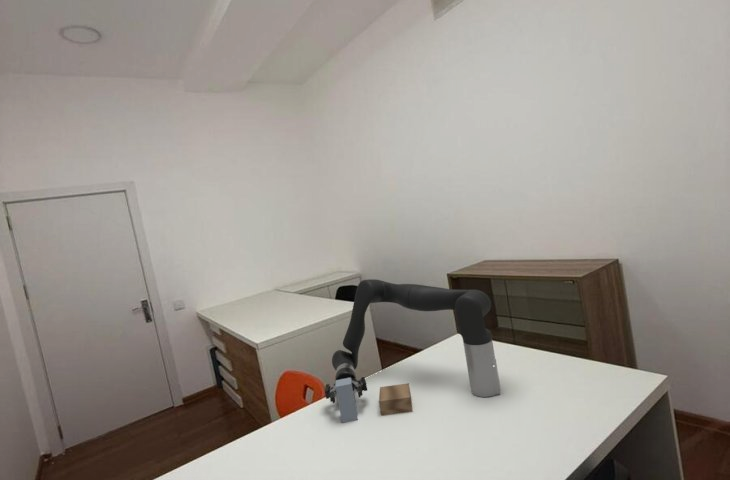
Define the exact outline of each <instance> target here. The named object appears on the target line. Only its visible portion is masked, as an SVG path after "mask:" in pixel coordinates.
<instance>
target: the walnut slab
mask: <svg viewBox="0 0 730 480" xmlns="http://www.w3.org/2000/svg"><path fill="white" fill-rule="evenodd" d="M378 394H379V396H378V404H379V409H380V410H379V411H380V414H381V415H380V416H382V417H383V416H390V415H396V414H404V413H412V412H413V413H414V411H413V403H412V401H413V399H412V393H411V389H410V383H408V382H407V383H400V384H393V385H392V384H391V385H386V386H380V387H379V393H378Z"/></svg>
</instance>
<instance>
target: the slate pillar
mask: <svg viewBox="0 0 730 480" xmlns="http://www.w3.org/2000/svg"><path fill="white" fill-rule="evenodd" d="M335 387H336V392H337V396H336V397H337V402H338V408H339V413H340V418H341V423H342V424H345V423H349V422H354V421H358V410H357V405H356V399H355V394H354V393H355V392H353V388H352V382H351V377H350V378H345V379H340V380H336V386H335Z"/></svg>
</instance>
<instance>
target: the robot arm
mask: <svg viewBox="0 0 730 480" xmlns="http://www.w3.org/2000/svg"><path fill="white" fill-rule="evenodd" d="M376 303H392V304H397V305H399V306H401V307H403V308H405V309H409V310H413V311H418V312H438V311H446V310H448V311H449V310H450V311H454V313H455V319H456V323H457V328H458V331H459V334H460V336H461V338H462V342H463V347H464V348H463V349H464V353H465V355H464V356H465V361H466V367H467V374H468V380H469V386H470V392H471V394H473V395H474V396H476V397H479V398H490V397H493V396H496V395H497V396H498V395H501V384H500V378H499V377H500V376H499V371H498V370H499V369H498V365H497V359H496V356H495V349H494V348H495V347H494V342H493V336H492V332H491V330H490V329H488V328H486V323H485V321H484V317H485V316H486V315H487V314H488V313H489V312H490V310H491V307H492V300H491V298H490V297H489V295H487V293H485V292H484V291H482V290H479V289H452V288H451V289H450V288H445V287H437V286H431V285H424V284H417V283H415V284H414V283H399V284H398V283H392V282H388V281H384V280H381V279H372V278H371V279H369V278H368V279H363V280H361V281H360V282H358V285H357V287H356V291H355V294H354V301H353V306H352V310H351V316H350V319H349V320H350V321H349V324H348V327H347V330H346V332H345V335H344V338H343V340H342V345H343V347H344V348H345V349H347V351H345V350H341V349H339V350H336V351H334V352H333V354H332V358H331V364H332V368H333V369H334V370H335V374H334V375H335V376H334V377H335V379H334V381H335V383H333V385H330V383H327V384H325V388H324V396H325V399H329V400H330V402H331V403H333V404H334V403H336V397H337V392H336V387H335V386H336V380H340V379H345V378H350V377H351V382H352V388H353V393H357V396H358V398H361V397H362V396H363V392H366V391H368V387H367V381H366V378H365V376H362V377H360V379H357V375H356V370H357V367H358V363H359V362H358V361H359V351H360V347H361V344H362V341H363V339H364V335H365V331H366V323H365V317H366V312H367V309H369V306H370V304H376ZM348 351H349V352H348Z"/></svg>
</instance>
